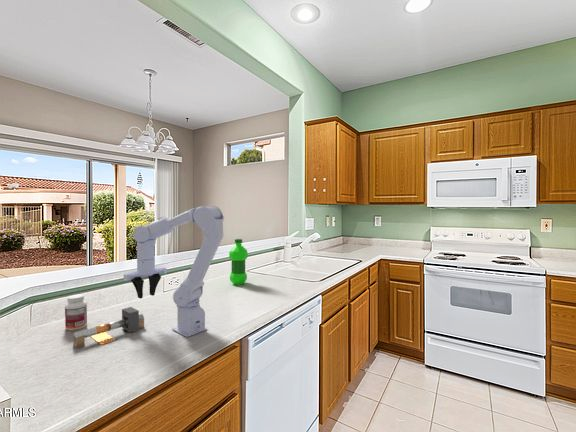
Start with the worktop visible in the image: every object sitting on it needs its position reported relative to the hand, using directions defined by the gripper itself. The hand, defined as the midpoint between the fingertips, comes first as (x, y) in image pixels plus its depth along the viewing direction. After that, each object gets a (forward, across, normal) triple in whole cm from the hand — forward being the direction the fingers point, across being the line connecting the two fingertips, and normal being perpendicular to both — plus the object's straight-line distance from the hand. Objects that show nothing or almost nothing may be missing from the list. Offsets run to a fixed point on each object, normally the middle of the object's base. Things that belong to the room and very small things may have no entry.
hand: (146, 296), depth 104 cm
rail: (+10, +12, 0) cm, 16 cm away
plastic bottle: (+11, -60, -17) cm, 63 cm away
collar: (+10, +6, 0) cm, 12 cm away
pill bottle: (+11, +16, -17) cm, 26 cm away
